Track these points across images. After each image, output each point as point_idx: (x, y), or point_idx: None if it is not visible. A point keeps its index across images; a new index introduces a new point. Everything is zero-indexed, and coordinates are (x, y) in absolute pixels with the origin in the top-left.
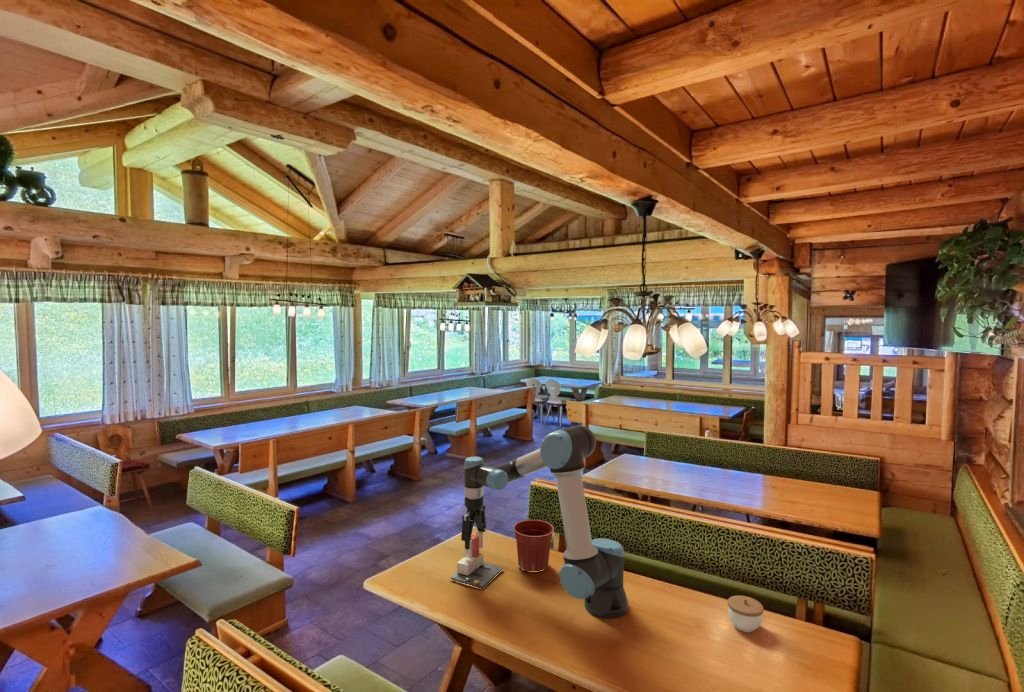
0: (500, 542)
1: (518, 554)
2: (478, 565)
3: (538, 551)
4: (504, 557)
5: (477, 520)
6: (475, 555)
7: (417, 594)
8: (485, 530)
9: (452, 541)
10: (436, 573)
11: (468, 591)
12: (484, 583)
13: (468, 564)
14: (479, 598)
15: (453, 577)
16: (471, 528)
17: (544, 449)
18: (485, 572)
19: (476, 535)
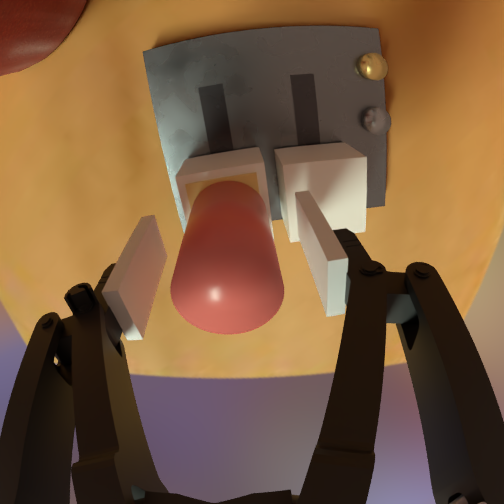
0: (3, 256)
1: (42, 10)
2: (240, 152)
3: None
4: (48, 152)
5: (133, 444)
6: (250, 190)
7: (478, 233)
8: (68, 291)
9: (133, 372)
10: None
11: (409, 80)
12: (353, 28)
13: (354, 162)
14: (422, 15)
15: (383, 193)
16: (372, 378)
17: None
18: (254, 86)
19: (174, 304)
